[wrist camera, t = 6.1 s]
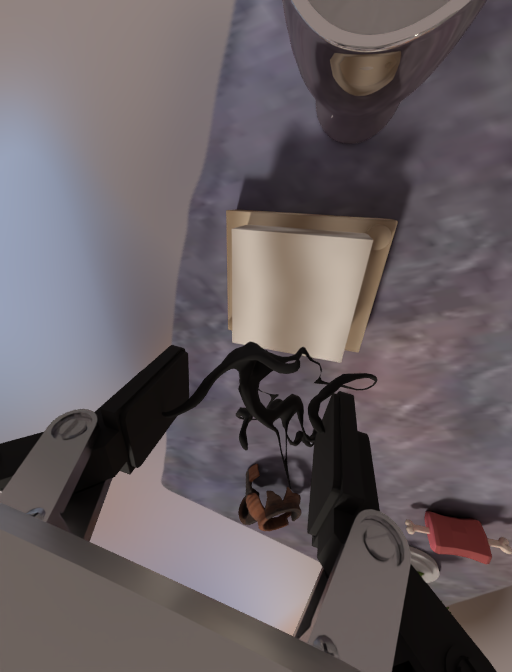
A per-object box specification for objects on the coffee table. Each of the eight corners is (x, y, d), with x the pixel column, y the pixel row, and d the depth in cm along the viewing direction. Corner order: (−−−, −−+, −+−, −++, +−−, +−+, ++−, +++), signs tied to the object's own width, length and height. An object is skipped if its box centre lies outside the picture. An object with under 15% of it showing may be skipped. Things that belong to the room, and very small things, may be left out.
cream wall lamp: (390, 218, 21) (411, 225, 15) (356, 338, 27) (362, 376, 21) (237, 209, 24) (206, 212, 18) (237, 318, 30) (213, 347, 24)
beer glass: (350, -4, 16) (411, -812, 3) (439, 55, 16) (835, -496, 3) (292, 122, 20) (216, -20, 7) (365, 169, 20) (419, 114, 7)
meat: (509, 519, 32) (530, 570, 29) (494, 526, 35) (511, 573, 32) (404, 502, 36) (412, 545, 33) (400, 510, 39) (406, 549, 36)
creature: (391, 393, 13) (319, 274, 9) (433, 515, 9) (332, 386, 5) (269, 425, 17) (184, 349, 13) (259, 521, 12) (130, 449, 9)
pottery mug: (262, 451, 41) (278, 505, 35) (298, 460, 46) (318, 508, 40) (221, 489, 45) (228, 544, 38) (258, 493, 50) (270, 543, 43)
